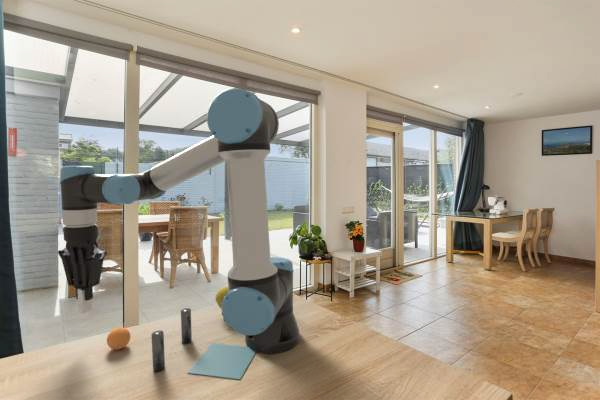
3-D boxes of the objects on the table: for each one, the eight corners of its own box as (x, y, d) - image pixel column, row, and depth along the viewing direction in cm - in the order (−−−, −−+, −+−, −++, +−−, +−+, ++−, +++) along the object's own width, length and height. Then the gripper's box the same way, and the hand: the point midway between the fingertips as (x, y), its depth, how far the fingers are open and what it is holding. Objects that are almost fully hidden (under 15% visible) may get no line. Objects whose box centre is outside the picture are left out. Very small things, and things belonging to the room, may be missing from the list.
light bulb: (232, 323, 99) (231, 292, 98) (212, 321, 100) (211, 290, 100) (240, 313, 106) (239, 284, 105) (221, 312, 107) (220, 283, 106)
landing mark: (257, 348, 85) (257, 347, 85) (240, 379, 72) (240, 379, 72) (212, 343, 87) (212, 343, 87) (187, 373, 75) (187, 372, 75)
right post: (193, 339, 90) (192, 308, 89) (188, 344, 87) (187, 312, 86) (185, 338, 90) (184, 307, 89) (180, 343, 88) (178, 311, 87)
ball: (135, 343, 88) (134, 324, 87) (120, 355, 82) (119, 334, 82) (117, 341, 88) (116, 322, 88) (102, 352, 83) (101, 332, 83)
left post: (167, 366, 77) (165, 331, 76) (160, 373, 75) (159, 336, 74) (157, 365, 78) (155, 330, 77) (150, 372, 75) (149, 335, 74)
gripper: (113, 223, 86) (116, 307, 89) (72, 221, 89) (76, 303, 91) (90, 228, 79) (95, 319, 81) (46, 226, 81) (51, 314, 84)
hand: (85, 310), depth 86 cm, fingers closed
